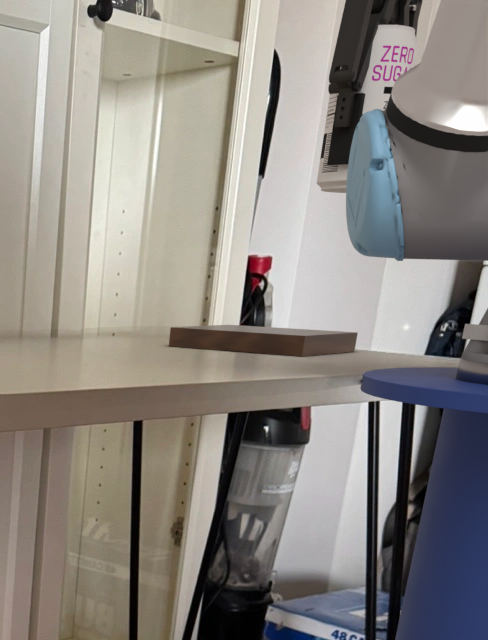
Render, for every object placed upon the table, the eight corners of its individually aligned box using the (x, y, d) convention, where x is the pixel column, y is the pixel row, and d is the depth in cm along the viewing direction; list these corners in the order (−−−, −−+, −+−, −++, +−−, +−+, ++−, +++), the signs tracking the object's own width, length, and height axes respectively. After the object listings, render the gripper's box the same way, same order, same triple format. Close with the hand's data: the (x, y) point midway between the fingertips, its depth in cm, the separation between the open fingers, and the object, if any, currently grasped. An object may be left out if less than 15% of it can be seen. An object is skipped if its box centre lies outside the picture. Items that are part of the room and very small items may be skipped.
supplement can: (335, 194, 120) (358, 43, 114) (405, 192, 115) (433, 33, 109) (302, 189, 115) (325, 30, 109) (374, 186, 109) (403, 19, 103)
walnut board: (354, 351, 142) (357, 332, 141) (301, 356, 132) (305, 335, 131) (226, 342, 155) (228, 324, 154) (168, 346, 144) (170, 327, 143)
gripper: (401, -54, 114) (364, 176, 123) (317, -104, 100) (281, 160, 109) (472, -67, 109) (427, 173, 118) (394, -121, 95) (350, 157, 104)
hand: (357, 167), depth 114 cm, fingers closed on supplement can, 8 cm apart
